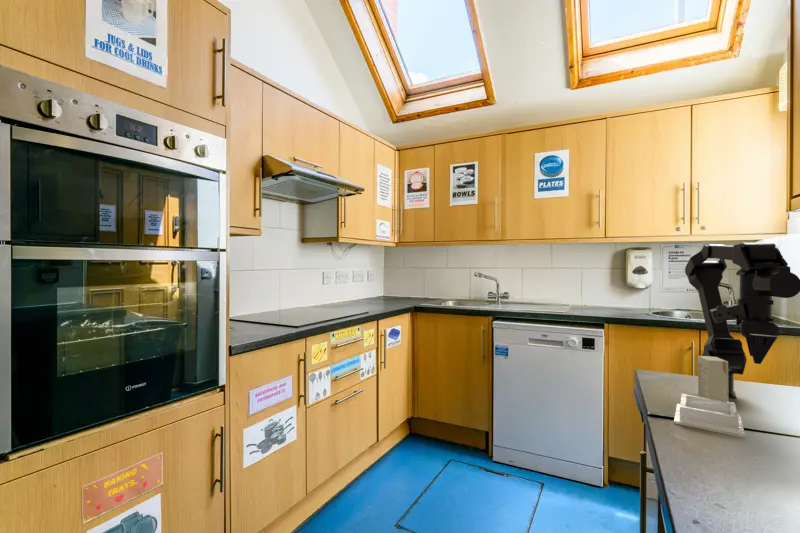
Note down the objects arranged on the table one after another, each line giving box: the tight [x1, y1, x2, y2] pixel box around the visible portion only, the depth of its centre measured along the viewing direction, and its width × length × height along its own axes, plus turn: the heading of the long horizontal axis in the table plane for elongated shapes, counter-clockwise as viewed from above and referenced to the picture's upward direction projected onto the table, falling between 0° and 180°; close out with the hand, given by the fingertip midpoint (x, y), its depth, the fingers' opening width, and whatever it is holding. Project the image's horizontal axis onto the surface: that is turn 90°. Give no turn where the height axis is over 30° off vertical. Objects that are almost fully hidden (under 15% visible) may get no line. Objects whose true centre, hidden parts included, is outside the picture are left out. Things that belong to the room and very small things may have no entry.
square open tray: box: [673, 393, 746, 439], centre depth 89 cm, size 14×12×4 cm
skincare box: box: [697, 355, 730, 402], centre depth 98 cm, size 6×4×12 cm
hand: (755, 359), depth 93 cm, fingers open, 9 cm apart
